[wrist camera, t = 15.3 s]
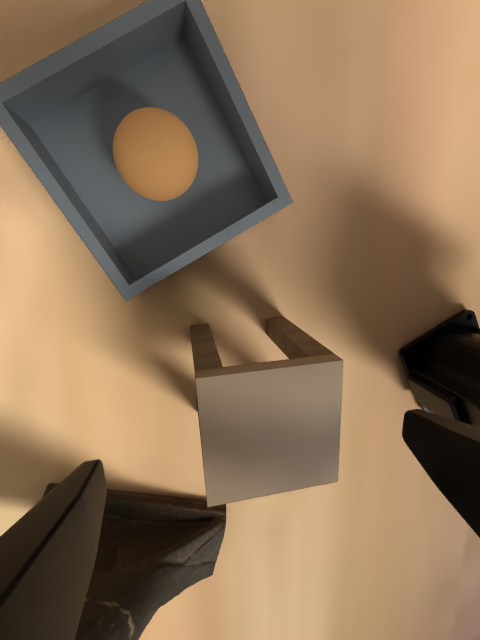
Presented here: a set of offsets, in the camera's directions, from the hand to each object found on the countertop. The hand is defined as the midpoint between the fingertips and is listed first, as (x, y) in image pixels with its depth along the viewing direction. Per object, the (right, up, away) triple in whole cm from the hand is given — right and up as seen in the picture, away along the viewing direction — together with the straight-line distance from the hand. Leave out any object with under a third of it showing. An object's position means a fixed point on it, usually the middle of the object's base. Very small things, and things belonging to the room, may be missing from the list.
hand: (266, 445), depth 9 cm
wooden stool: (-1, 0, +12) cm, 12 cm away
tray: (-5, +12, +8) cm, 16 cm away
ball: (-5, +12, +6) cm, 14 cm away
